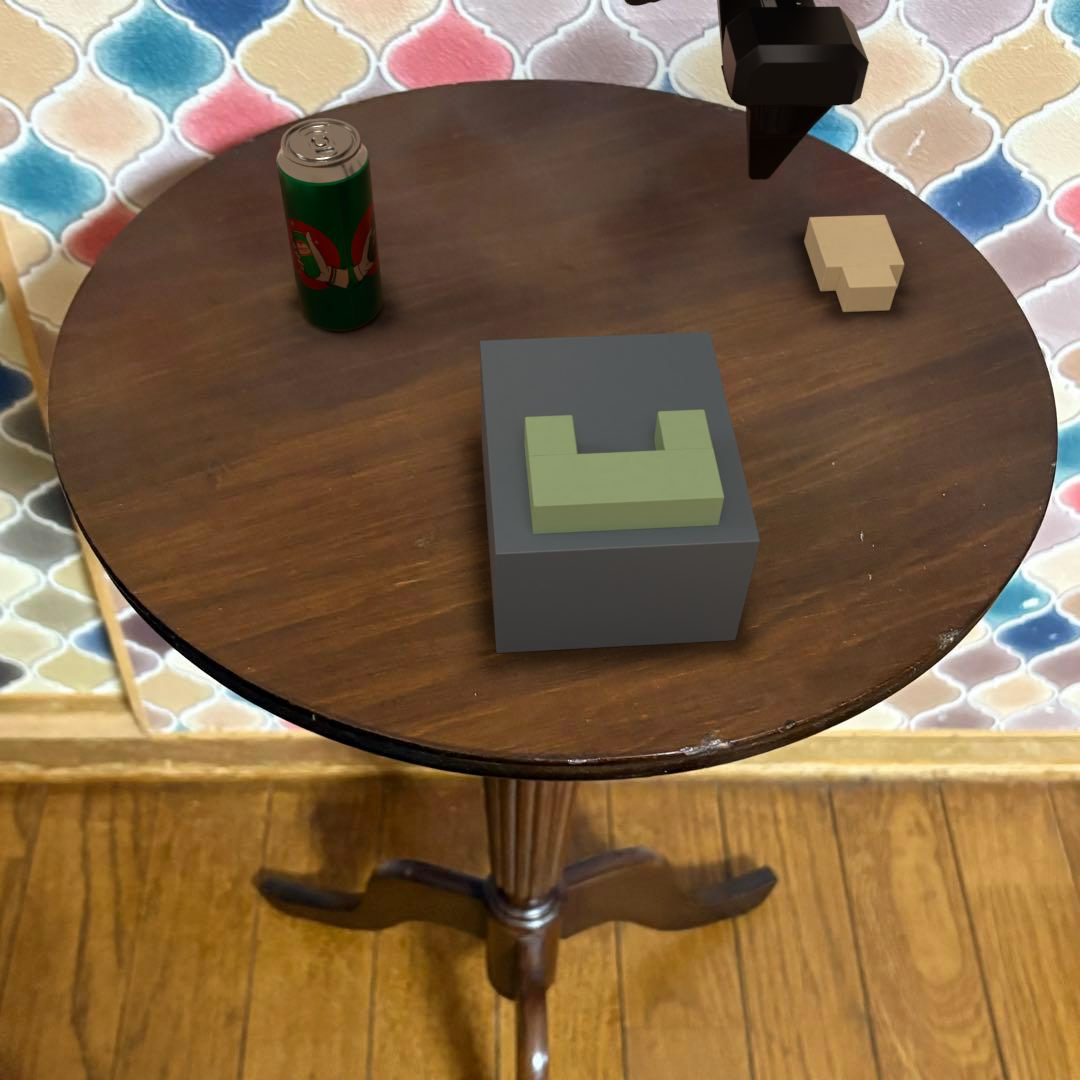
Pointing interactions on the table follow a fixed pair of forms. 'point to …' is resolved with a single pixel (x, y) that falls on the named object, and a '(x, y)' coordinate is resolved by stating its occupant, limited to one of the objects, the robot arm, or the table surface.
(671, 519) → the green pad
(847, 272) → the cream pad
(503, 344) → the block
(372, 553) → the table surface
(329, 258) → the soda can
